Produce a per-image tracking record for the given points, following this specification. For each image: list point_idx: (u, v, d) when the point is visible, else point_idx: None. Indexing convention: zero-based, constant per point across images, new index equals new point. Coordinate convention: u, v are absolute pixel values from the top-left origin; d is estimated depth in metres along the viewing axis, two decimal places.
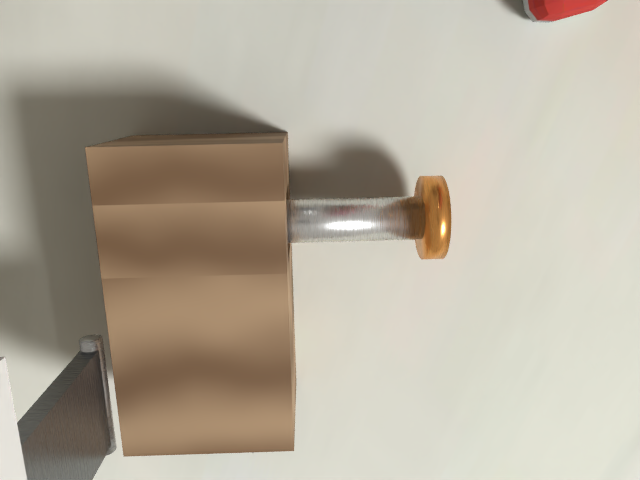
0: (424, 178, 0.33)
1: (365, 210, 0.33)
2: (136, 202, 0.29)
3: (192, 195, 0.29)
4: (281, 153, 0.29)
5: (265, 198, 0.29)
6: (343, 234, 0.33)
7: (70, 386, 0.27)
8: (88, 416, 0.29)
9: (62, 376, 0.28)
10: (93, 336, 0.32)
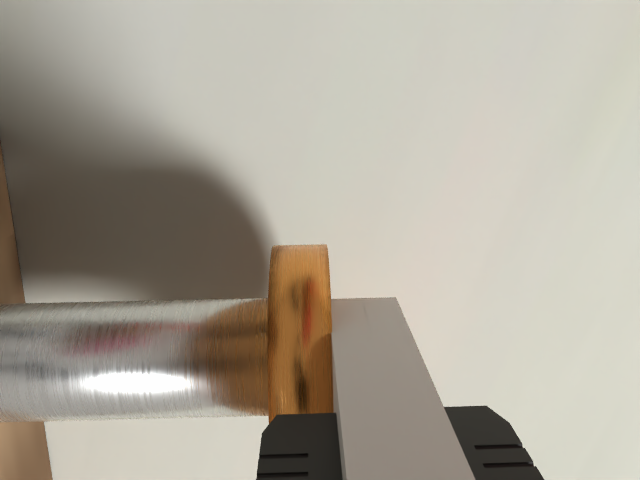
0: (273, 257, 0.12)
1: (102, 350, 0.12)
2: None
3: None
4: None
5: None
6: (45, 413, 0.12)
7: None
8: None
9: None
10: None
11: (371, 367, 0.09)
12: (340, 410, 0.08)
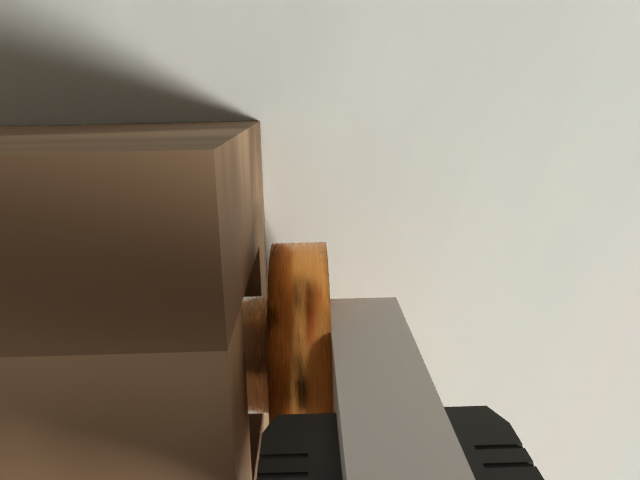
0: (272, 254, 0.12)
1: None
2: None
3: None
4: (211, 188, 0.08)
5: (159, 343, 0.08)
6: None
7: None
8: None
9: None
10: None
11: (371, 367, 0.09)
12: (340, 410, 0.08)
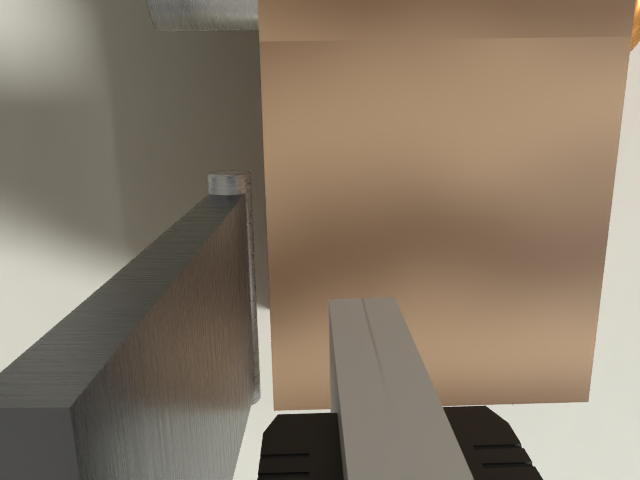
0: None
1: None
2: None
3: None
4: None
5: None
6: None
7: (218, 226, 0.12)
8: (236, 314, 0.14)
9: (193, 216, 0.13)
10: (231, 172, 0.16)
11: (370, 367, 0.09)
12: (341, 410, 0.08)
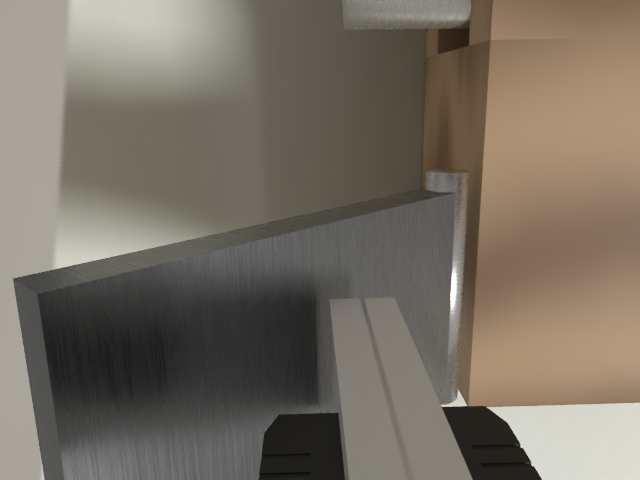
0: None
1: None
2: None
3: None
4: None
5: None
6: None
7: (362, 215, 0.13)
8: (400, 305, 0.14)
9: (365, 204, 0.14)
10: (455, 170, 0.16)
11: (369, 367, 0.09)
12: (342, 410, 0.08)
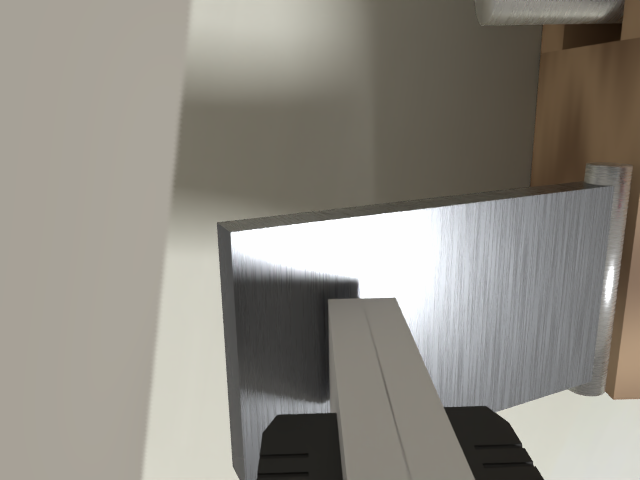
0: None
1: None
2: None
3: None
4: None
5: None
6: None
7: (504, 199, 0.14)
8: (542, 289, 0.15)
9: (513, 191, 0.15)
10: (618, 164, 0.16)
11: (371, 367, 0.09)
12: (340, 410, 0.08)
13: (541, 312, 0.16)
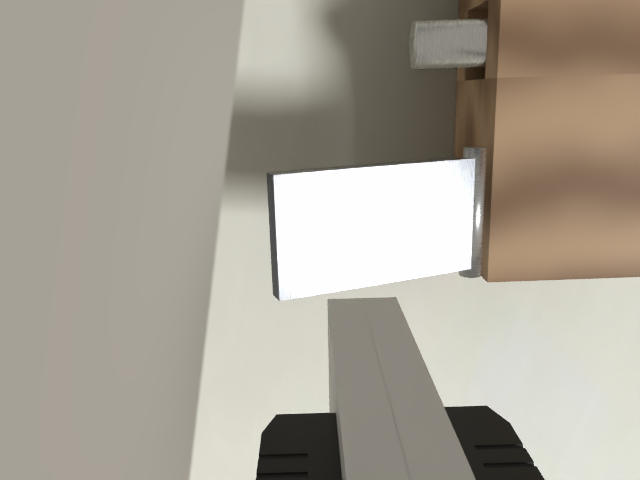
0: None
1: None
2: None
3: None
4: None
5: None
6: None
7: (409, 163, 0.28)
8: (434, 212, 0.29)
9: (418, 161, 0.29)
10: (480, 147, 0.30)
11: (371, 367, 0.09)
12: (340, 410, 0.08)
13: (435, 225, 0.29)
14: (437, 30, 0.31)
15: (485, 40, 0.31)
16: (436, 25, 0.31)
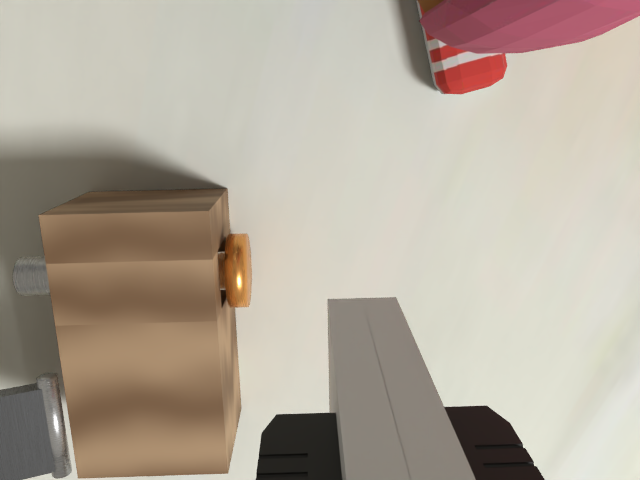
0: (227, 237, 0.37)
1: None
2: (84, 261, 0.34)
3: (132, 255, 0.34)
4: (208, 219, 0.33)
5: (195, 257, 0.34)
6: None
7: None
8: (5, 435, 0.35)
9: None
10: (53, 376, 0.36)
11: (371, 367, 0.09)
12: (340, 410, 0.08)
13: (8, 444, 0.35)
14: (30, 272, 0.37)
15: None
16: (31, 266, 0.37)
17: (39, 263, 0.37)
